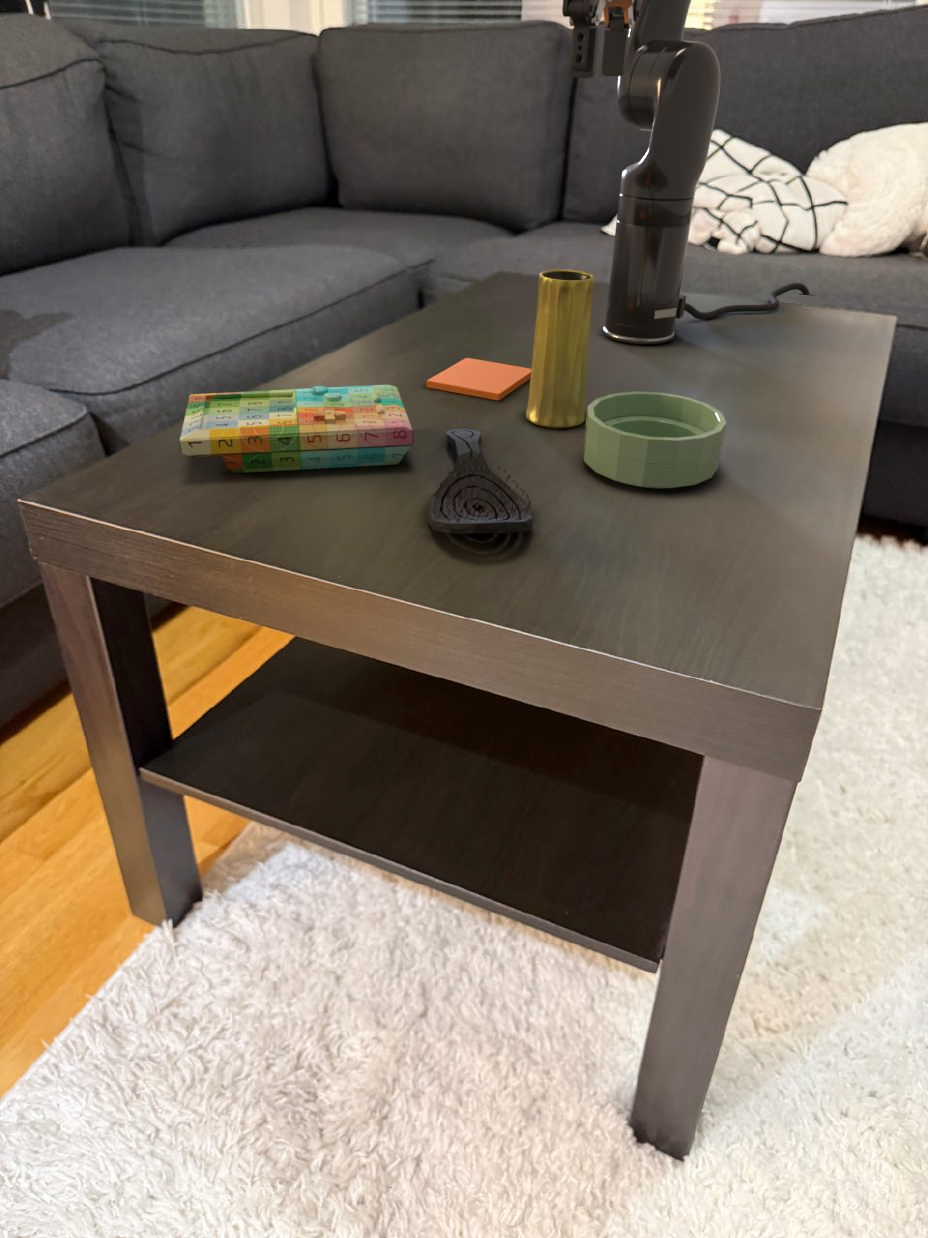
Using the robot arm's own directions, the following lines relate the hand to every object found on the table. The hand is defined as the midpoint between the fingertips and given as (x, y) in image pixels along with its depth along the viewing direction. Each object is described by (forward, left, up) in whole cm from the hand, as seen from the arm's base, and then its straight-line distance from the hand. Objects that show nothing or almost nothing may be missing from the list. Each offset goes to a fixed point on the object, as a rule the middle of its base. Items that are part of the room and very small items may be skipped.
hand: (597, 76), depth 81 cm
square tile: (+2, -10, -30) cm, 32 cm away
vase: (+9, +2, -30) cm, 32 cm away
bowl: (+16, +14, -30) cm, 37 cm away
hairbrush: (+29, +2, -30) cm, 42 cm away
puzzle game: (+29, -16, -30) cm, 45 cm away
